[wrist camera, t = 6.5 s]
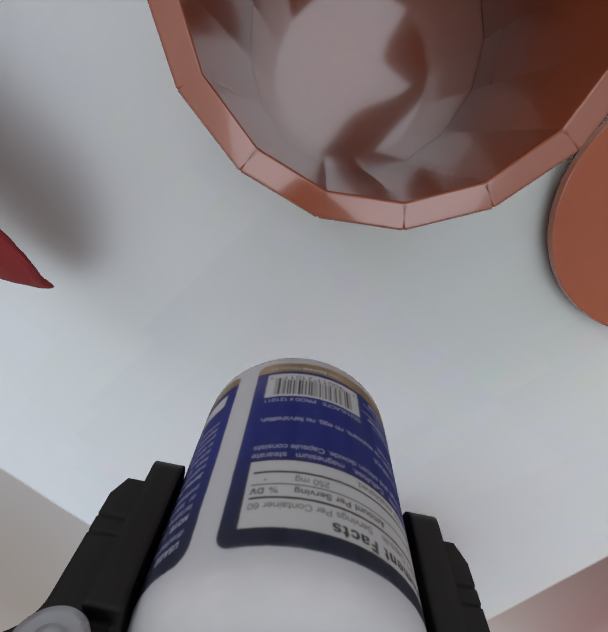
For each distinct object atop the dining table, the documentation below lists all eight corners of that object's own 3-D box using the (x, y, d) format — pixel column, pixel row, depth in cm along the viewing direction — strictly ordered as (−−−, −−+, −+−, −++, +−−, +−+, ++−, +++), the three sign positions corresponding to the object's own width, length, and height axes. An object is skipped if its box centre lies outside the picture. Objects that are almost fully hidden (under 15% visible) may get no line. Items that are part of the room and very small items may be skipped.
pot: (201, -63, 20) (35, -336, 8) (481, -164, 18) (756, -680, 7) (276, 208, 25) (236, 271, 13) (505, 148, 23) (691, 160, 11)
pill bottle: (272, 511, 16) (202, 1017, 7) (178, 399, 14) (-88, 885, 5) (412, 451, 15) (559, 988, 5) (328, 319, 13) (334, 787, 4)
